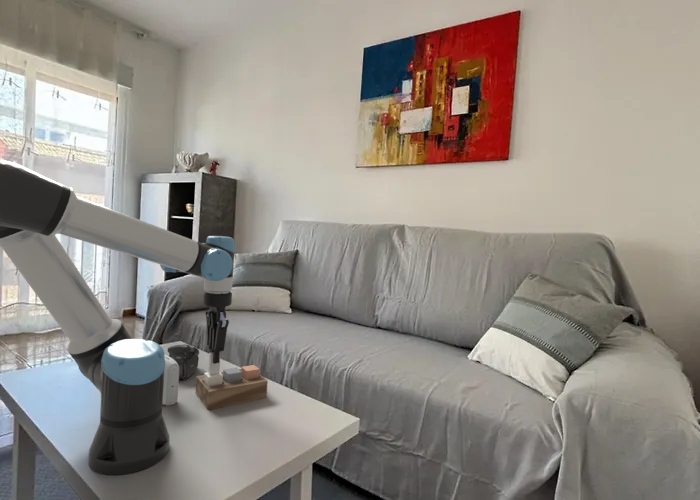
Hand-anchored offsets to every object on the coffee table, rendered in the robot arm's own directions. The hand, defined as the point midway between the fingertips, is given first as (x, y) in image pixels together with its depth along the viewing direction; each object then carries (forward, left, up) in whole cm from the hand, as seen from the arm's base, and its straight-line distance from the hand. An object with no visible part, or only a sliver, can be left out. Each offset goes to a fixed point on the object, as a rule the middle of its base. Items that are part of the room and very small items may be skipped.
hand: (213, 373), depth 113 cm
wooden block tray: (0, -5, -8) cm, 9 cm away
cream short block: (0, 0, -5) cm, 5 cm away
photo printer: (+6, +12, -8) cm, 16 cm away
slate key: (0, -5, -5) cm, 8 cm away
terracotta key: (0, -11, -5) cm, 12 cm away
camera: (+22, +3, -8) cm, 24 cm away
